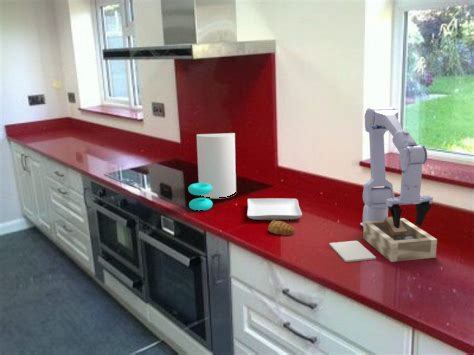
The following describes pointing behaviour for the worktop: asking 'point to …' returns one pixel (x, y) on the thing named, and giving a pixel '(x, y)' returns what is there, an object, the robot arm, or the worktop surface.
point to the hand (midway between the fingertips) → (407, 226)
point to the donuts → (200, 202)
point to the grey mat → (352, 251)
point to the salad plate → (273, 209)
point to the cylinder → (217, 163)
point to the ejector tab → (402, 237)
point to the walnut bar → (392, 229)
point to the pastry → (280, 228)
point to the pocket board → (400, 241)
